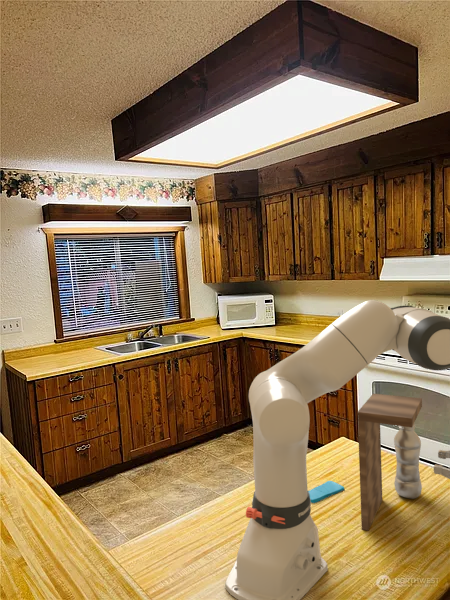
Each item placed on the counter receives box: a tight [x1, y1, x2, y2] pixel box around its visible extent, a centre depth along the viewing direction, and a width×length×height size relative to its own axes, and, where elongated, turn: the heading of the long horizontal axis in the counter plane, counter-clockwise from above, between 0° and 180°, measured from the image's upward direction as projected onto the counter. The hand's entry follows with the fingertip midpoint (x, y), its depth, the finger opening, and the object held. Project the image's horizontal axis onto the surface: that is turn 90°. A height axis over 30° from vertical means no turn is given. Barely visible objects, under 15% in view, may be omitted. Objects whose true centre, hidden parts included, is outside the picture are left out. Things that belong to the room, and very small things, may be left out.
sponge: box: [308, 480, 345, 504], centre depth 122 cm, size 2×12×6 cm
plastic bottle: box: [393, 423, 423, 499], centre depth 117 cm, size 6×7×20 cm
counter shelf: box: [357, 393, 423, 532], centre depth 107 cm, size 15×12×28 cm
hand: (436, 460), depth 113 cm, fingers open, 8 cm apart
